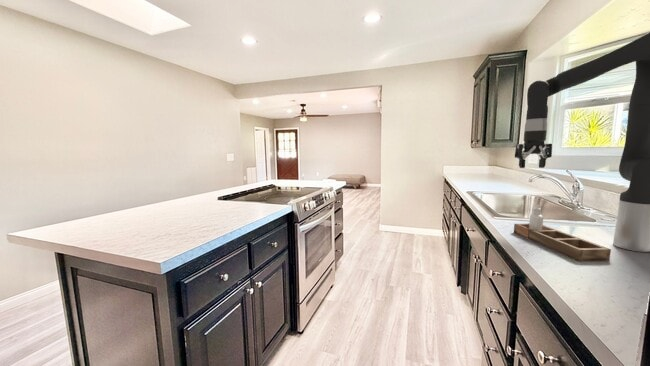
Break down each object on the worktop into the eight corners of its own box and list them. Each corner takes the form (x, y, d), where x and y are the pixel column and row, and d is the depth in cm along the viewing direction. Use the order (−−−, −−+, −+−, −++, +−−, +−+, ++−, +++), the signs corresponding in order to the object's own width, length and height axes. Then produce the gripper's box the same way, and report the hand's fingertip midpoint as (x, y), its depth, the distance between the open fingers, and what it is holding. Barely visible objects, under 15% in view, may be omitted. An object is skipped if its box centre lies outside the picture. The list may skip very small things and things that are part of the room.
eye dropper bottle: (541, 232, 109) (544, 204, 107) (541, 236, 105) (544, 207, 103) (528, 230, 112) (531, 203, 110) (527, 233, 107) (530, 205, 106)
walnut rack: (537, 232, 113) (538, 223, 113) (609, 260, 85) (611, 249, 84) (512, 232, 113) (513, 223, 113) (577, 261, 85) (578, 249, 84)
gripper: (525, 129, 107) (522, 168, 109) (559, 129, 107) (555, 168, 109) (512, 130, 114) (509, 167, 117) (544, 130, 114) (540, 166, 117)
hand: (531, 167), depth 113 cm, fingers open, 8 cm apart
